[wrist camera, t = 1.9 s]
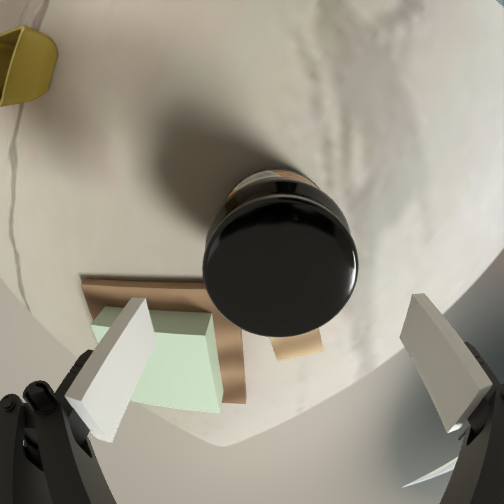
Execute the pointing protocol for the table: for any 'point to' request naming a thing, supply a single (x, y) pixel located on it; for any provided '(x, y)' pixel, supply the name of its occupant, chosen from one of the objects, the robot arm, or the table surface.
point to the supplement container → (279, 255)
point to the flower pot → (25, 65)
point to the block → (297, 345)
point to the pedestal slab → (176, 360)
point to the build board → (181, 300)
